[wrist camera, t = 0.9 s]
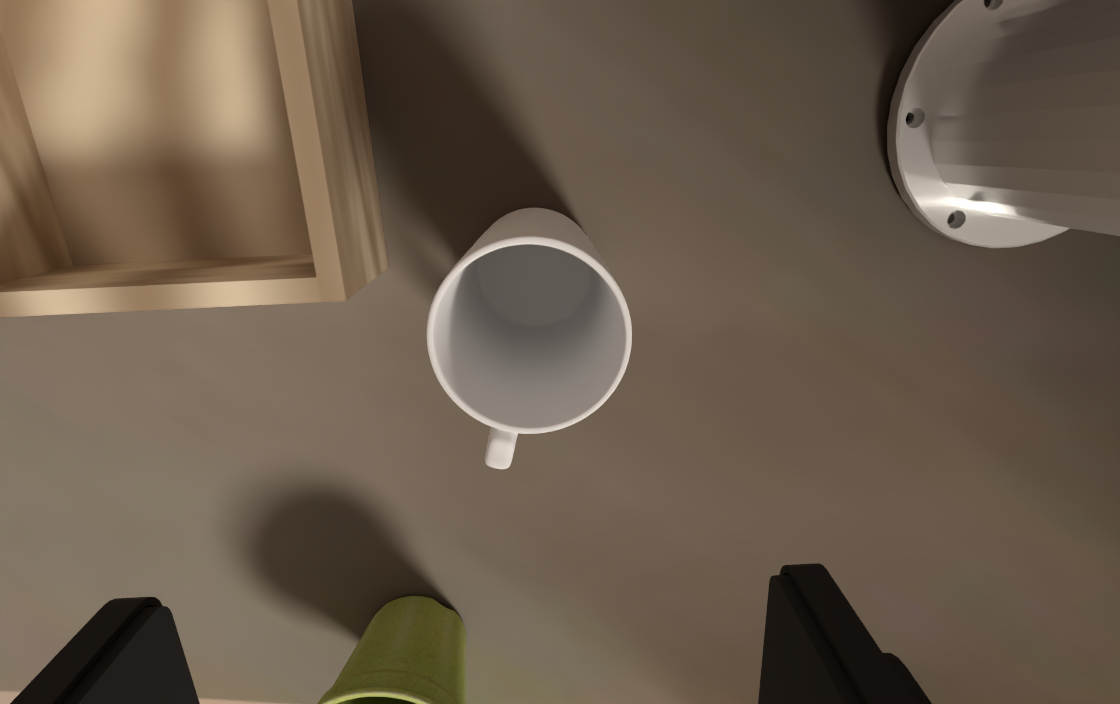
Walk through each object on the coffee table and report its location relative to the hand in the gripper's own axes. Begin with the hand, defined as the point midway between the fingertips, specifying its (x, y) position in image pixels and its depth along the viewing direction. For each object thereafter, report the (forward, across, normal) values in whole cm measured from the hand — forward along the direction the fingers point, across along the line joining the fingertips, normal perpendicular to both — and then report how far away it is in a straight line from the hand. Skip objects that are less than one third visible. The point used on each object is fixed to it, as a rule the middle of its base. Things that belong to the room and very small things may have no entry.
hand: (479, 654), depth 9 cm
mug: (+24, 0, 0) cm, 24 cm away
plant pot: (+24, +8, +22) cm, 33 cm away
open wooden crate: (+23, +15, -10) cm, 29 cm away
